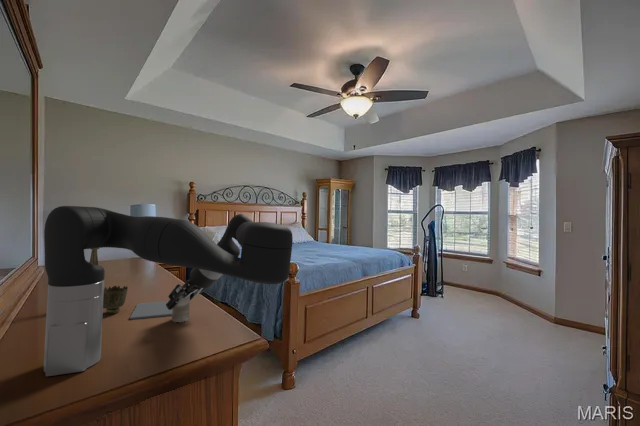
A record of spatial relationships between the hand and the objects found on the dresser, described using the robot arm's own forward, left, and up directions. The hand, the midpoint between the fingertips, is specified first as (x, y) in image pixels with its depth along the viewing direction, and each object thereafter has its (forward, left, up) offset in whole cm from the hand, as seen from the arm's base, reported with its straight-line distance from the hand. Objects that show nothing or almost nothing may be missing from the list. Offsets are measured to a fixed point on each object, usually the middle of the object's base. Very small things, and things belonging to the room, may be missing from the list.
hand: (176, 304), depth 91 cm
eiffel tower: (+23, +27, -5) cm, 35 cm away
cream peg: (-1, -1, -4) cm, 5 cm away
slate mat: (+12, +5, -4) cm, 14 cm away
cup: (+13, +19, -5) cm, 23 cm away
